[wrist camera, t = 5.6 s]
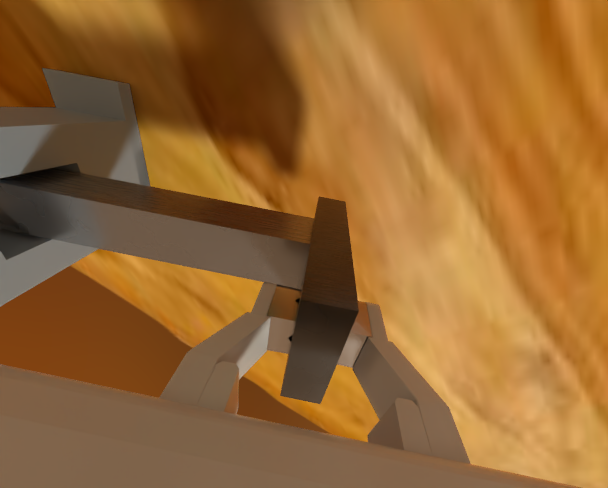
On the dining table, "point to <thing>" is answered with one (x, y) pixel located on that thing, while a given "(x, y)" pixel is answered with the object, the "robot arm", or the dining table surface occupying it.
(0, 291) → the bearing block
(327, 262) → the shaft
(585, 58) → the dining table surface
